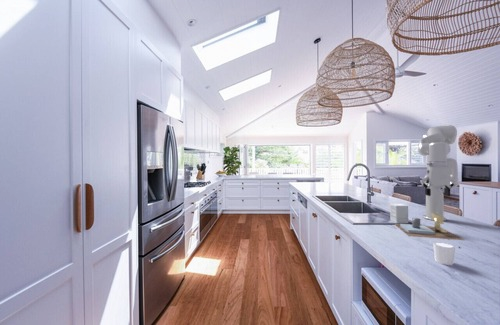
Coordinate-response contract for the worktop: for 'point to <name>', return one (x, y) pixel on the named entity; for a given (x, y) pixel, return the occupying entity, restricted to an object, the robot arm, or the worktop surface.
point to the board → (437, 234)
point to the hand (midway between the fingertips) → (437, 195)
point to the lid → (416, 227)
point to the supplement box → (399, 213)
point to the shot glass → (444, 253)
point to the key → (438, 222)
